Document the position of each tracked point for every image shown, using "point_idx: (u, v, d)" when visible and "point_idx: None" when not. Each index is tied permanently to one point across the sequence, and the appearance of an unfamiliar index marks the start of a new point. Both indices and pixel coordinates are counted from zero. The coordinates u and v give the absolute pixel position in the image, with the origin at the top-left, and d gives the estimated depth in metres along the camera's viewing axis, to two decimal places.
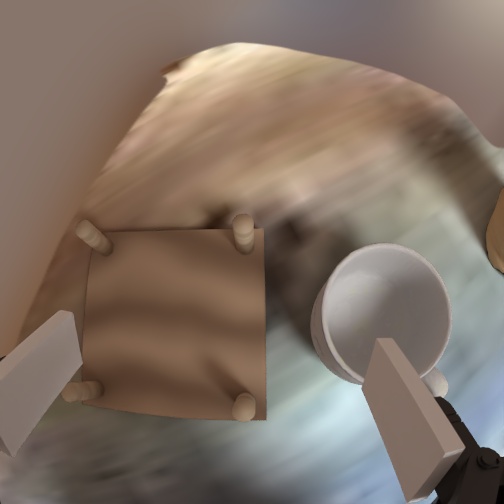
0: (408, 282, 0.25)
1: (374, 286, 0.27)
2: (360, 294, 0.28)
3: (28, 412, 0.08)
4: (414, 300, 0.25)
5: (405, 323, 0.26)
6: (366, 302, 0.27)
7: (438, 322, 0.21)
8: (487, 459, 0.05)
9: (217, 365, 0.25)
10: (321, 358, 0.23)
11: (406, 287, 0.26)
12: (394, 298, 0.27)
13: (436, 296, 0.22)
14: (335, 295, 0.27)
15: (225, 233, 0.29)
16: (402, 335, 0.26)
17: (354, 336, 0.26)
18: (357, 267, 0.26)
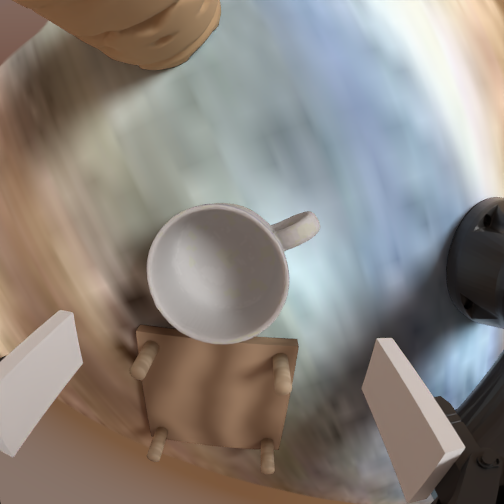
0: (186, 219, 0.26)
1: (188, 240, 0.29)
2: (195, 253, 0.29)
3: (28, 412, 0.08)
4: (206, 210, 0.26)
5: (230, 213, 0.28)
6: (203, 249, 0.29)
7: None
8: (487, 459, 0.05)
9: (248, 374, 0.32)
10: None
11: (192, 216, 0.26)
12: (202, 220, 0.28)
13: None
14: (194, 281, 0.30)
15: None
16: (241, 218, 0.28)
17: (234, 266, 0.30)
18: (169, 271, 0.27)
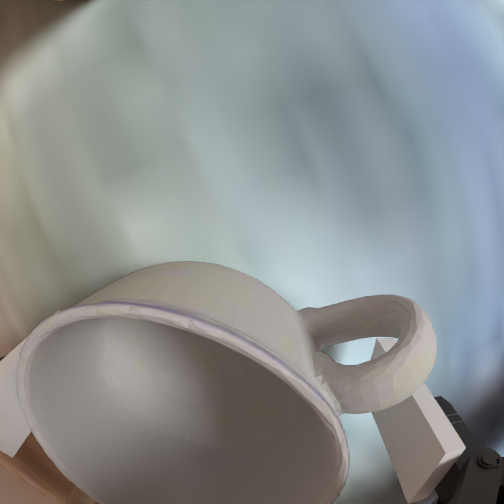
0: None
1: (125, 327, 0.13)
2: (142, 350, 0.14)
3: None
4: None
5: None
6: (157, 342, 0.14)
7: None
8: (488, 459, 0.05)
9: None
10: None
11: None
12: None
13: None
14: (146, 396, 0.14)
15: None
16: None
17: (221, 376, 0.14)
18: (90, 391, 0.12)
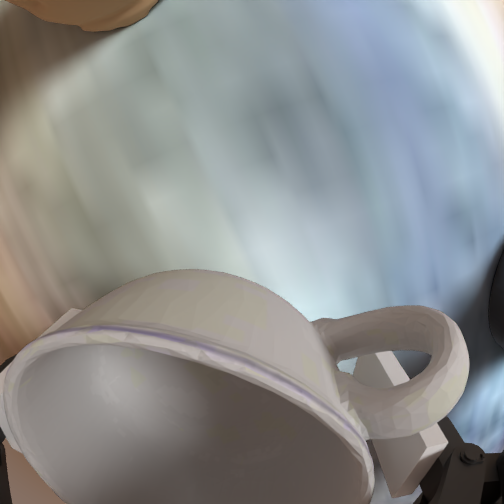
0: None
1: None
2: (141, 363, 0.13)
3: None
4: None
5: None
6: (157, 355, 0.13)
7: None
8: (471, 454, 0.05)
9: None
10: None
11: None
12: None
13: None
14: (146, 411, 0.13)
15: None
16: None
17: (226, 390, 0.13)
18: (85, 409, 0.10)
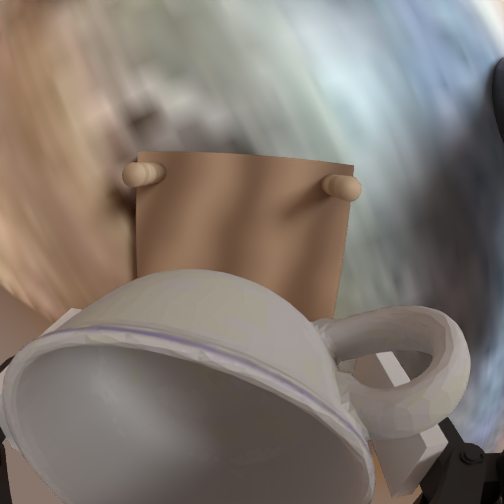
0: None
1: None
2: (140, 363, 0.13)
3: None
4: None
5: None
6: (156, 355, 0.13)
7: None
8: (471, 454, 0.05)
9: (289, 210, 0.24)
10: None
11: None
12: None
13: None
14: (146, 411, 0.13)
15: (141, 194, 0.24)
16: None
17: (226, 390, 0.13)
18: (85, 409, 0.10)
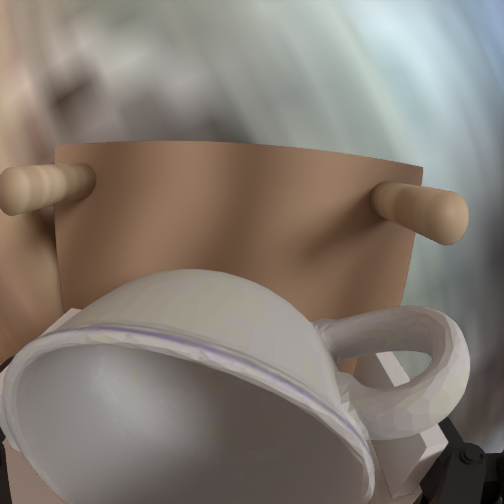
0: None
1: None
2: (140, 363, 0.13)
3: None
4: None
5: None
6: (156, 355, 0.13)
7: None
8: (471, 454, 0.05)
9: (313, 246, 0.13)
10: None
11: None
12: None
13: None
14: (145, 411, 0.13)
15: (61, 218, 0.13)
16: None
17: (226, 390, 0.13)
18: (85, 409, 0.10)
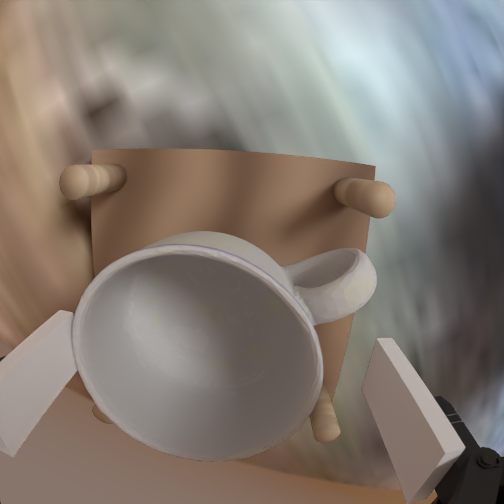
0: (138, 262, 0.14)
1: (147, 288, 0.17)
2: (160, 307, 0.18)
3: (28, 412, 0.08)
4: None
5: None
6: (172, 300, 0.18)
7: None
8: (487, 458, 0.05)
9: (290, 226, 0.18)
10: None
11: None
12: (167, 257, 0.17)
13: None
14: (161, 348, 0.18)
15: (96, 206, 0.18)
16: None
17: (222, 326, 0.18)
18: (119, 341, 0.16)
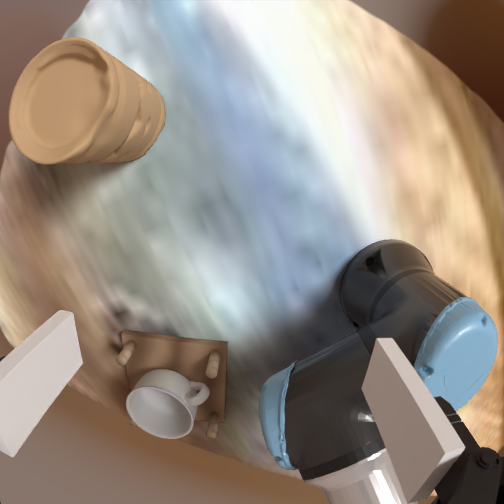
0: None
1: None
2: None
3: (28, 412, 0.08)
4: None
5: None
6: None
7: None
8: (487, 458, 0.05)
9: (195, 364, 0.47)
10: None
11: None
12: None
13: None
14: (153, 399, 0.48)
15: None
16: None
17: None
18: (138, 399, 0.45)
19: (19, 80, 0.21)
